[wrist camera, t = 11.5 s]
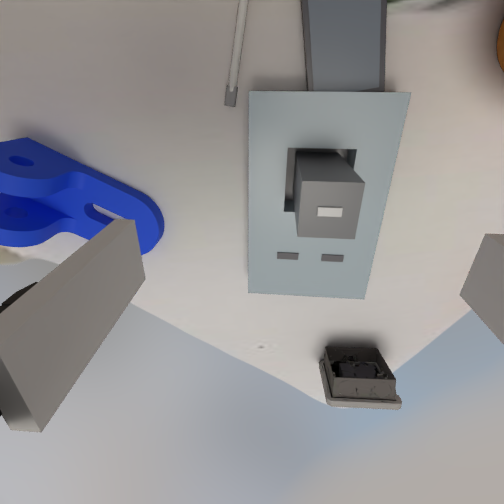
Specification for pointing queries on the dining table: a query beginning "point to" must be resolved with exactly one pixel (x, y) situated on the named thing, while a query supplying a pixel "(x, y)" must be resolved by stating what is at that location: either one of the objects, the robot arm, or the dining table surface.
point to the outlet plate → (281, 186)
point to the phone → (345, 45)
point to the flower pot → (501, 46)
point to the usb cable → (236, 54)
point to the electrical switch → (358, 379)
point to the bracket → (64, 198)
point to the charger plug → (326, 196)
